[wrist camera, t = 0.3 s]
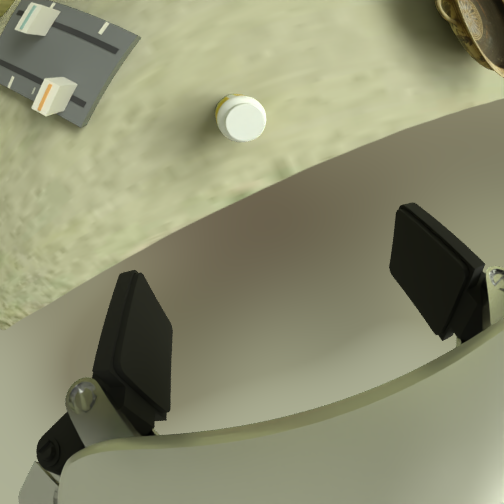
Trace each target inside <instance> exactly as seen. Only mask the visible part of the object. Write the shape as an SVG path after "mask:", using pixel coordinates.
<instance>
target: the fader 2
mask: <svg viewBox="0 0 504 504" xmlns="http://www.w3.org/2000/svg"><path fill="white" fill-rule="evenodd" d="M77 85H78V84H76V83H75V82H73V81H71V80H69V79H67V78H65V77H55V78H45V79H44V81H43V83H42V85H41V87H40V89H39V92H38V94H37V96H36V98H35V101H34V103H33V106H32V109H33V110H35V111H37V112H39V113H41V114H42V115H44V116H49V115H52V114H55V113H58V112H62V111H65V108H66V106H67V104H68V102H69V100H70V98H71V96H72V94H73V92H74V91H75V89H76V87H77Z"/></svg>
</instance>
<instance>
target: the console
mask: <svg viewBox="0 0 504 504" xmlns="http://www.w3.org/2000/svg"><path fill="white" fill-rule="evenodd" d="M31 2H33V3H36V4H40V5H43V6H46V7H50V8H53V9H55V10H58V11H61V12H60V13H59V15H58V16H57V18H56V19H55V21H54V23H53V24H52V26H51V27H50V29H49V30H48V32H47V34H46V35H45V36H41V35H34V34H26V33H23V32H20V31H18V30H15V27H16V26H17V24H18V22H19V20H20V19H21V17H22V15H23V14H24V12H25V11H26V9H27V7H28V6H29V4H30V3H31ZM140 39H141V37H139V36H138V35H136V34H134V33H131V32H129V31H127V30H125V29H123V28H121V27H119V26H116V25H114V24H112V23H110V22H107V21H105V20H103V19H100V18H98V17H95V16H93V15H90V14H88V13H85V12H82V11H80V10H77V9H74V8H71V7H68V6H65V5H62V4H59V3H56V2H53V1H49V0H21V2H20V3H19V5H18V6H17V8H16V10H15V11H14V13H13V15H12V16H11V18H10V20H9V21H8V23H7V25H6V27H5V29H4V31H3V32H2V34H1V36H0V84H2V85H4V86H5V87H7V88H9V89H11V90H13V91H15V92H17V93H19V94H21V95H22V96H24V97H26V98H28V99H30V100H32V101H35V98H36V96H37V94H38V92H39V89H40V87H41V85H42V83H43V81H44V79H45V78H55V77H65V78H67V79H69V80H71V81H73V82H75V83H76V84H78V85H77V87H76V89H75V91H74V92H73V94H72V96H71V98H70V100H69V102H68V104H67V106H66V108H65V111H62V112H58V113H55V114H57V115H59V116H61V117H63V118H64V119H66V120H68V121H70V122H72V123H73V124H75V125H77V126H79V127H80V128H81V127H83V126H86V125H87V123H88V121H89V119H90V117H91V115H92V113H93V112H94V110H95V108H96V106H97V104H98V102H99V101H100V99H101V97H102V95H103V94H104V92H105V90H106V89H107V87H108V85H109V84H110V82H111V80H112V79H113V77H114V76H115V74H116V73H117V71H118V69H119V68H120V66H121V65H122V64H123V62H124V61H125V59H126V58H127V56H128V55H129V53H130V52H131V51H132V49H133V48H134V47H135V45H136V44H137V43H138V41H139V40H140Z"/></svg>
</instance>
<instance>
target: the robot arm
mask: <svg viewBox="0 0 504 504" xmlns="http://www.w3.org/2000/svg"><path fill="white" fill-rule="evenodd" d="M484 266H485V263H484V262H483V261H482V260H481V259H479V258H478V256H476V255H475V254H474V253H473V252H472V251H471V250H470V249H469V248H468V247H467V246H466V245H465V244H464V243H462V242H461V241H460V240H459V239H458V238H457V237H456V236H455V235H454V234H453V233H451V232H450V231H449V230H448V229H447V228H446V227H444V226H443V225H442V224H441V223H440V222H438V221H437V220H436V219H435V218H434V217H432V216H431V215H430V214H429V213H427V212H426V211H425V210H423V209H422V208H421V207H419V206H418V205H417V204H415V203H409V204H404V205H401V206H400V207H399V210H397V212H396V219H395V229H394V237H393V245H392V252H391V259H390V266H389V268H390V272H391V274H392V275H393V277H394V278H395V280H396V281H397V282H398V283H399V285H400V286H401V287H402V289H403V290H404V291H405V293H406V294H407V295H408V297H409V298H410V300H411V301H412V302H413V303H414V305H415V306H416V308H417V309H418V310H419V312H420V313H421V315H422V316H423V317H424V319H425V320H426V322H427V323H428V325H429V326H430V328H431V329H432V331H433V332H434V333H435V334H436V335H439V337H440V338H441V340H442V341H443V340H445V339H447V338H449V337H451V336H452V335H453V333H455V334H456V336H457V338H456V348H454V349H453V350H451V351H449V352H447V353H446V354H444V355H442V356H440V357H438V358H437V359H435V360H433V361H431V362H429V363H427V364H426V365H423V366H421V367H419V368H417V369H415V370H413V371H411V372H409V373H407V374H405V375H403V376H400V377H398V378H396V379H394V380H391V381H389V382H387V383H385V384H382V385H380V386H377V387H375V388H372V389H370V390H367V391H365V392H362V393H359V394H357V395H354V396H351V397H348V398H346V399H343V400H340V401H337V402H334V403H331V404H328V405H324V406H321V407H318V408H315V409H311V410H308V411H305V412H300V413H297V414H293V415H289V416H285V417H281V418H277V419H272V420H268V421H263V422H258V423H253V424H248V425H242V426H237V427H230V428H224V429H217V430H210V431H201V432H192V433H183V434H171V435H159V434H158V433H157V431H155V429H154V421H163V420H166V412H169V411H170V392H171V355H172V333H173V332H172V331H173V330H172V325H171V323H170V321H169V319H168V318H167V316H166V314H165V313H164V311H163V309H162V308H161V306H160V304H159V302H158V301H157V299H156V297H155V295H154V293H153V292H152V290H151V288H150V286H149V284H148V282H147V281H146V279H145V277H144V275H143V274H142V273H138V272H137V271H136V270H132V271H128V272H124V273H121V274H120V275H119V277H118V280H117V283H116V287H115V289H114V292H113V295H112V299H111V302H110V305H109V308H108V312H107V315H106V319H105V322H104V326H103V329H102V333H101V337H100V341H99V345H98V349H97V353H96V357H95V361H94V366H93V370H92V371H93V377H92V378H87V377H85V378H81V379H79V380H77V381H76V382H74V383H73V384H72V386H71V387H70V388H69V390H68V392H67V395H66V399H65V401H66V402H65V405H66V409H67V413H65V414H64V416H62V417H61V418H60V419H59V421H57V422H56V423H55V424H54V425H53V426H52V427H51V428H50V429H49V430H48V431H47V432H46V433H45V434H44V435H43V436H42V438H41V439H40V440H39V442H38V445H37V458H38V461H39V462H36V461H35V462H34V464H33V465H32V467H31V469H30V472H29V473H28V476H27V477H26V480H25V482H24V484H23V486H22V488H21V490H20V493H19V504H504V268H502V267H500V266H491V267H489V268H488V269H487V271H486V273H484V272H483V268H484Z"/></svg>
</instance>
